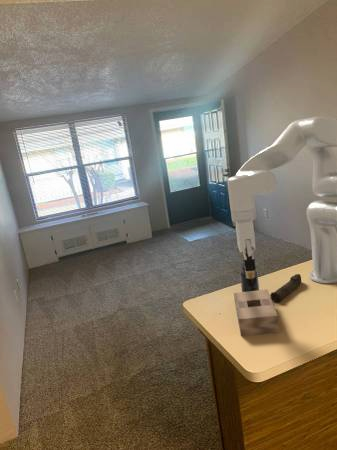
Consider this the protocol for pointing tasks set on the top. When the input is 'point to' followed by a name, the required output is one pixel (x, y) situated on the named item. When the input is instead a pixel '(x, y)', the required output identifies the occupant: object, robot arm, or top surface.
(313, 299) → the top surface
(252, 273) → the peg
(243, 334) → the hole block
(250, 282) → the supplement bottle
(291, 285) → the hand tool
